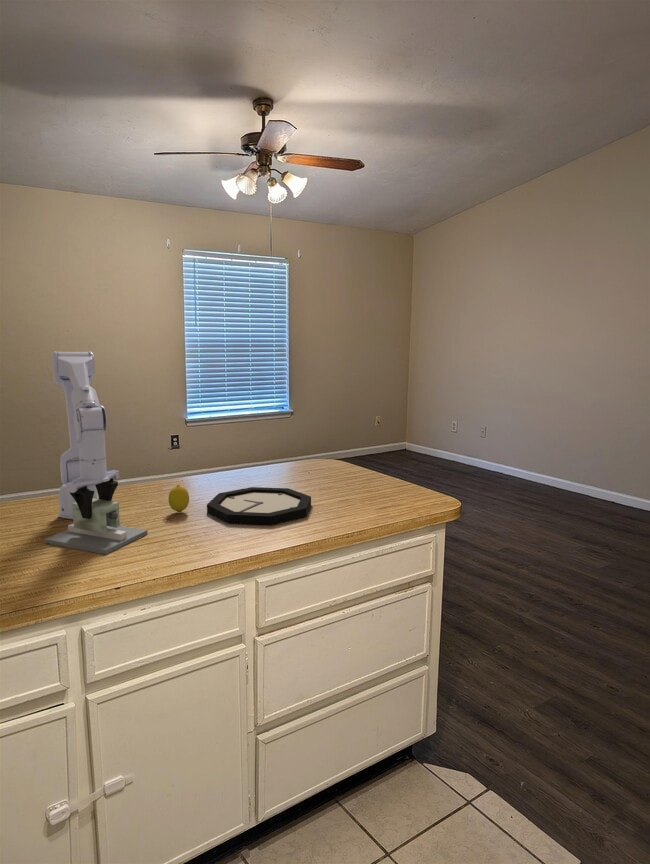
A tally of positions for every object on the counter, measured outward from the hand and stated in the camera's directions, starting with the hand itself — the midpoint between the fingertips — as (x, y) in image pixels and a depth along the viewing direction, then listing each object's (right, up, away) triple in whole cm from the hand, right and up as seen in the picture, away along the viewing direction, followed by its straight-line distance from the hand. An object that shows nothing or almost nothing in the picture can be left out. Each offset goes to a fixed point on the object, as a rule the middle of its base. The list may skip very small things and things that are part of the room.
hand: (96, 514), depth 127 cm
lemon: (+14, -3, +21) cm, 26 cm away
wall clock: (+36, -3, +26) cm, 44 cm away
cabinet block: (0, -3, 0) cm, 3 cm away
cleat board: (0, -6, +1) cm, 6 cm away
